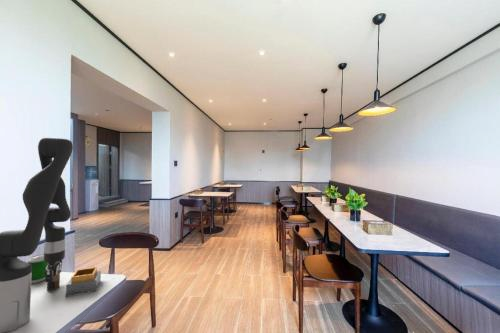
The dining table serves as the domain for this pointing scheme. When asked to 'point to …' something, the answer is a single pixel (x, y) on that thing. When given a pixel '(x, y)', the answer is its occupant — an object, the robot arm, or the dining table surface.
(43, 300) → the dining table surface
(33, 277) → the soda can
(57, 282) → the walnut plug
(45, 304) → the dining table surface
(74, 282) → the box
